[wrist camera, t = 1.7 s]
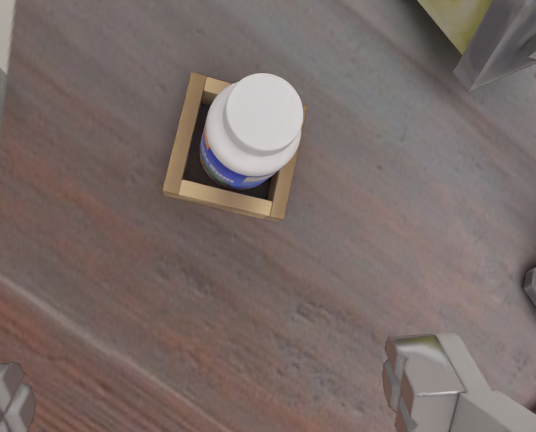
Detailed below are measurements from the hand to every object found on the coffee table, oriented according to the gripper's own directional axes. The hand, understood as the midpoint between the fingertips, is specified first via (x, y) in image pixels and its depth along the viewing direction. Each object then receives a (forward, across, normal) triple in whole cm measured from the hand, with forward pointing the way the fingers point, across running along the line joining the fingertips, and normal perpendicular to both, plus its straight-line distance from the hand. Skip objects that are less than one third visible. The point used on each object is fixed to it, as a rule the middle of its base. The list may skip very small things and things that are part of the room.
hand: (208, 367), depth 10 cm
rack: (+22, 0, +4) cm, 23 cm away
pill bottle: (+23, 0, +4) cm, 23 cm away
